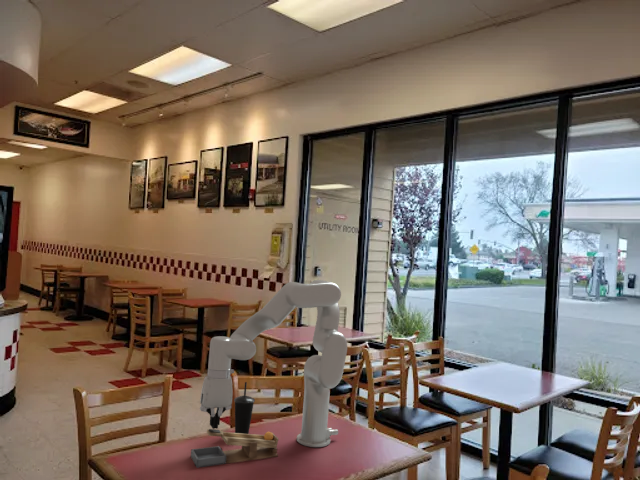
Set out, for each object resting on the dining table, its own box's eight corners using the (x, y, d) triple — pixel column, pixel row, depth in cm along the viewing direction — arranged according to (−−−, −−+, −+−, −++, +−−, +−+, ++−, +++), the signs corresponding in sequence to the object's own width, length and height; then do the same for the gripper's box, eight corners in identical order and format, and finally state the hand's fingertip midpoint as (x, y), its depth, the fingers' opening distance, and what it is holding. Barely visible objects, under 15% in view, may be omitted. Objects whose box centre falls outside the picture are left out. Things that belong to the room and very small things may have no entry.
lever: (265, 436, 178) (267, 427, 178) (276, 448, 169) (278, 438, 169) (206, 432, 168) (208, 423, 168) (214, 444, 159) (217, 434, 159)
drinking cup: (247, 441, 179) (252, 386, 179) (228, 438, 180) (232, 383, 181) (254, 434, 186) (258, 381, 187) (235, 431, 188) (239, 378, 188)
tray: (218, 453, 167) (219, 446, 167) (225, 463, 159) (226, 456, 159) (190, 457, 162) (191, 449, 162) (196, 467, 155) (197, 459, 155)
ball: (270, 439, 173) (272, 430, 173) (273, 443, 170) (275, 433, 170) (262, 439, 171) (263, 430, 171) (265, 443, 168) (266, 433, 169)
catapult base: (269, 446, 175) (270, 431, 175) (278, 456, 168) (279, 439, 168) (219, 453, 167) (220, 436, 167) (226, 463, 159) (227, 446, 160)
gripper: (236, 369, 175) (232, 421, 174) (194, 371, 168) (189, 425, 168) (243, 375, 168) (238, 429, 168) (199, 377, 161) (194, 433, 161)
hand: (214, 427), depth 168 cm, fingers closed
